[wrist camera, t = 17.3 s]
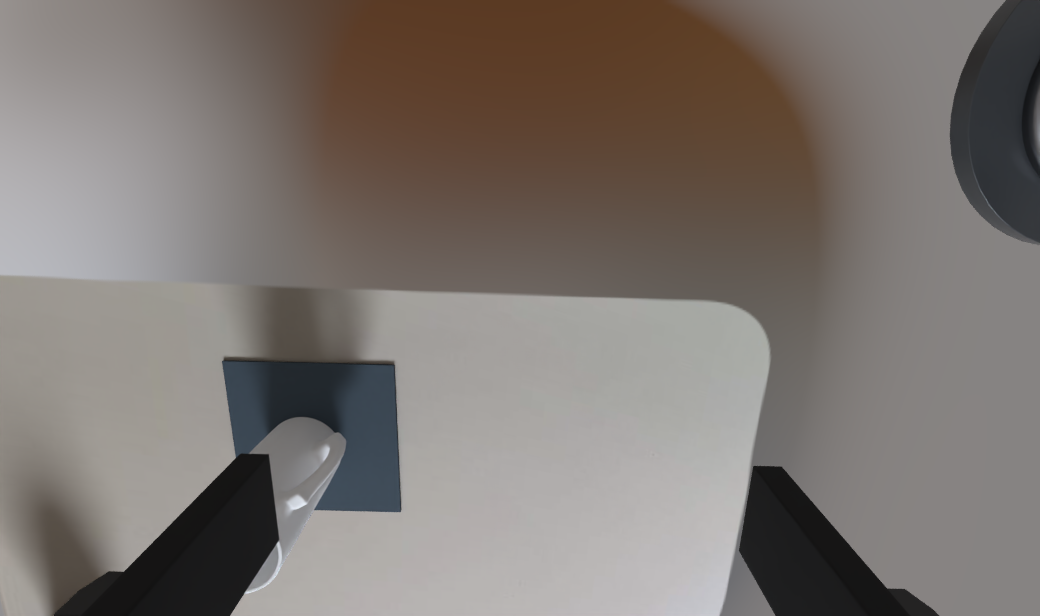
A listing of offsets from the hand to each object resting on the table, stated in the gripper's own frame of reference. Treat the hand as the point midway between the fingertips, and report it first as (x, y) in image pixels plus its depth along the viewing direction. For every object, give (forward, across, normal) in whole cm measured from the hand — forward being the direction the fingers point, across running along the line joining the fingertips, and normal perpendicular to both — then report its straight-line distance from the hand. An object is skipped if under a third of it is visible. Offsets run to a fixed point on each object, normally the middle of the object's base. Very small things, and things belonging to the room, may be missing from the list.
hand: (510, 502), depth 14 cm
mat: (+27, -17, -14) cm, 35 cm away
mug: (+27, -16, -14) cm, 34 cm away
